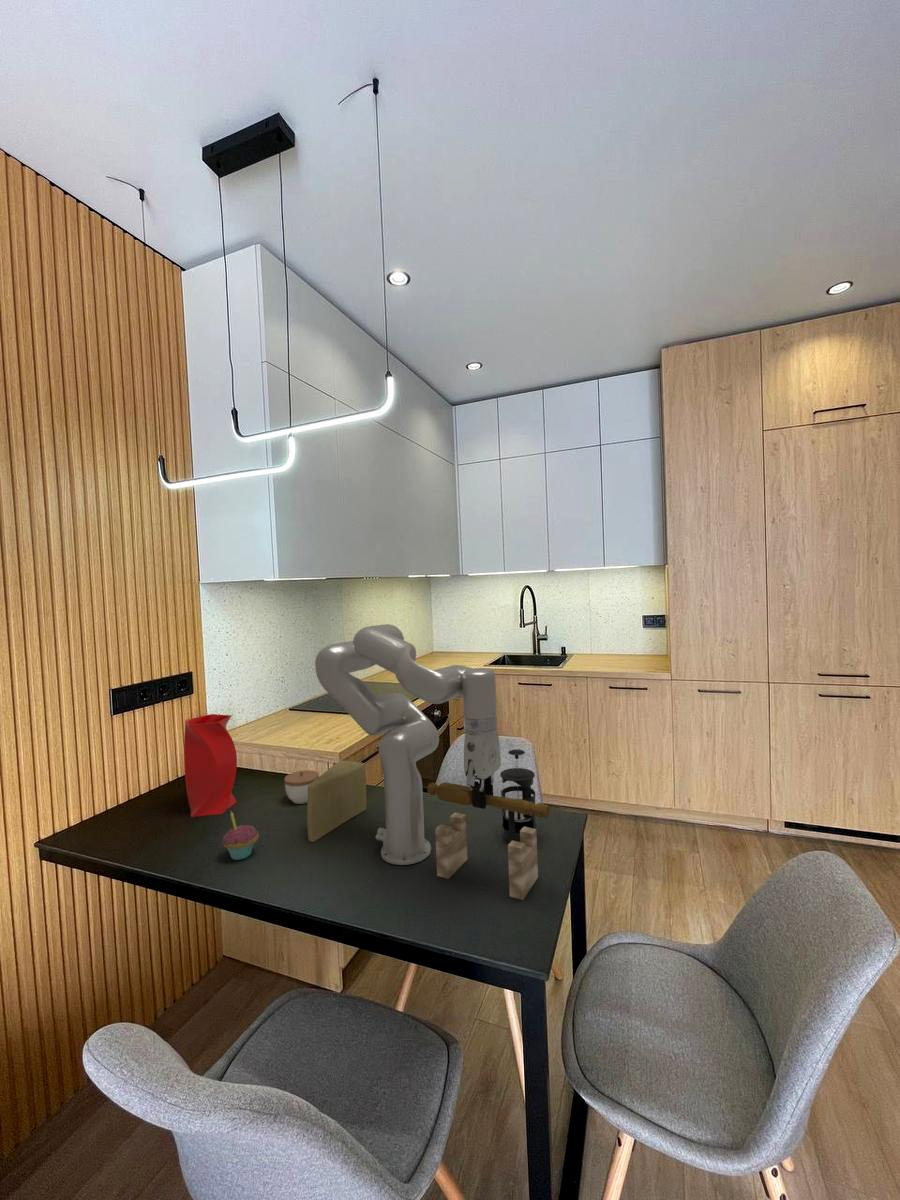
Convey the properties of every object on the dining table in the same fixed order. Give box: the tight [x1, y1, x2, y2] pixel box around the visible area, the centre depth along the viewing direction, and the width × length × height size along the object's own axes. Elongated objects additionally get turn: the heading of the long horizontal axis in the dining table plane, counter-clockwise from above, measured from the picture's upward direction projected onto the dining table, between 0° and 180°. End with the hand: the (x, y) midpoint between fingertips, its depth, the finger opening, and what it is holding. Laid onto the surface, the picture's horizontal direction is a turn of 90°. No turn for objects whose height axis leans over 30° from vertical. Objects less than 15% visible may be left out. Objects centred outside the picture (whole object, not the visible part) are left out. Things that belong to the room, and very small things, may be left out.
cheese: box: [306, 760, 367, 843], centre depth 145 cm, size 22×10×15 cm, turn 159°
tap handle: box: [426, 782, 550, 820], centre depth 115 cm, size 3×3×30 cm
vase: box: [183, 713, 238, 818], centre depth 159 cm, size 15×14×28 cm
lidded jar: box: [283, 769, 320, 805], centre depth 163 cm, size 11×11×9 cm
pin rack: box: [434, 812, 539, 901], centre depth 116 cm, size 21×9×11 cm, turn 61°
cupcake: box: [221, 810, 260, 861], centre depth 130 cm, size 9×8×12 cm
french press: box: [500, 749, 539, 845], centre depth 133 cm, size 12×9×23 cm
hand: (483, 803), depth 115 cm, fingers closed on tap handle, 3 cm apart
